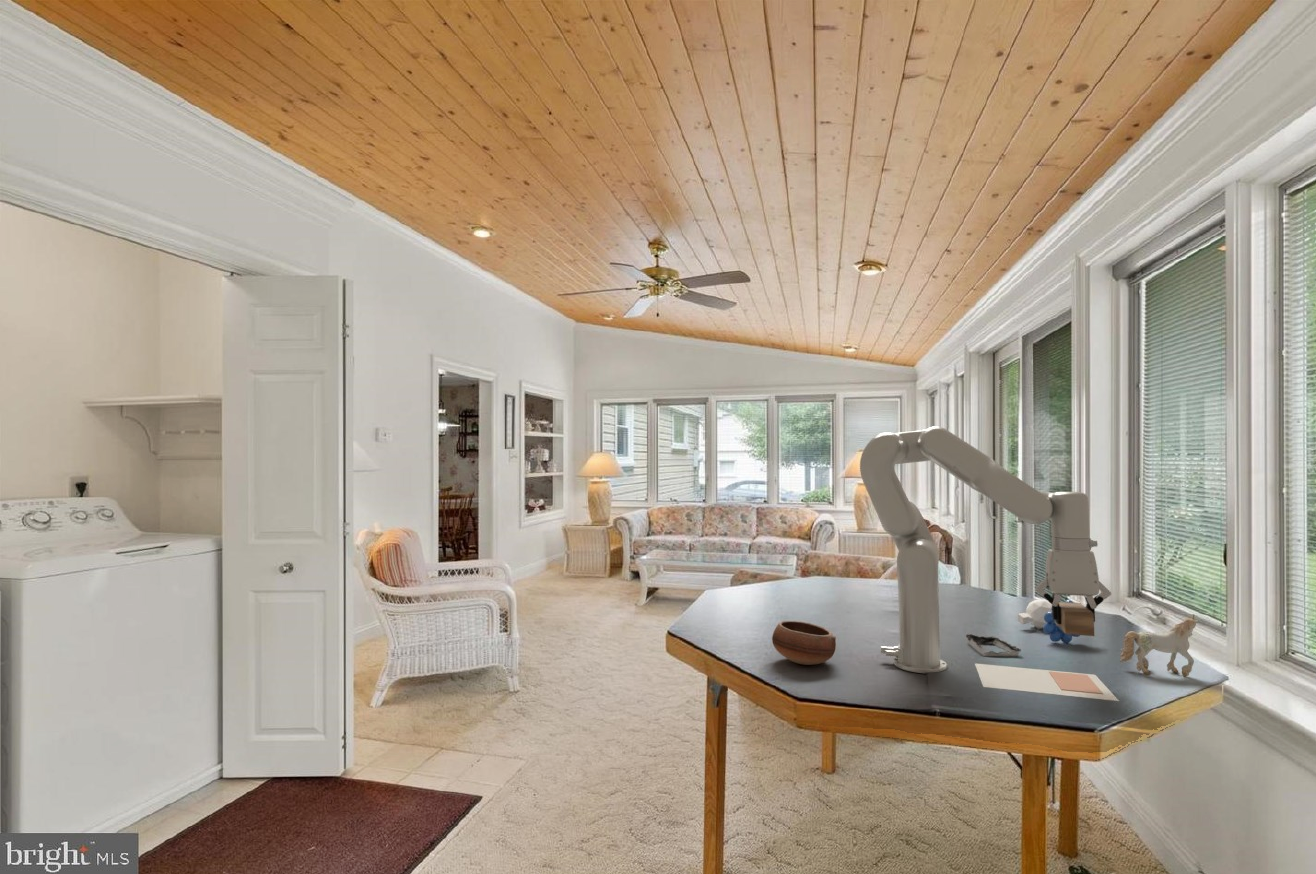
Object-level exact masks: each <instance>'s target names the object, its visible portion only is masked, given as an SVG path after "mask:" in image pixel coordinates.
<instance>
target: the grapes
mask: <svg viewBox="0 0 1316 874" xmlns="http://www.w3.org/2000/svg"><path fill="white" fill-rule="evenodd" d="M1064 602H1069V603H1074V601H1073V600H1066V601H1064ZM1044 620H1045V621H1046V622H1047V624H1045V625H1044V627H1043V629H1042V630H1043V632H1044V633H1045V634H1047V635H1049V639H1050V641H1051V642H1055V643H1057V642H1059V641H1061V642H1062V643H1064V644H1068V643H1071V641H1072V640H1073V638H1078V637H1080V636H1081V635H1071V634H1065V633H1064V632H1063V631H1062V630H1061V629H1060V628H1059V627H1058V625H1057V624H1056V623H1055V619H1053V617H1052V612H1048V613H1046V614H1045V615H1044Z"/></svg>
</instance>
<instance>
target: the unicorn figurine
mask: <svg viewBox="0 0 1316 874" xmlns="http://www.w3.org/2000/svg"><path fill="white" fill-rule="evenodd" d="M1198 623H1199V620H1198V619H1196V620H1195V613H1192V615H1191V617H1188V616H1186V617H1185V619H1184V620H1183V621H1181V622H1180V623H1177V624H1175V626H1174V627H1172V628H1171V629H1169V630H1168V631H1165V632H1163V633H1157V632H1151V631H1141V632H1137V631H1133V630H1131V631H1128V632H1127V633H1126V635H1124V639H1123V648H1120V650H1121V651H1122V652H1121V654H1120V656H1121V657H1120V660H1119V662H1120V663H1123V662H1127V661H1130V660H1131V659H1132V658H1133V656H1134V654H1135V655H1136V656H1137V657H1136V658H1137V663H1136V669H1137V671H1138V672H1142V673H1143V674H1145V675H1150V674H1151V673H1150V671H1149V664H1150V663H1149V660H1148V659H1147V658H1146V656H1147V655H1148V654H1150V652H1151V651H1153V650H1154V651H1157V652H1162V653H1167V654H1169V653H1170V659H1169V660H1170V661H1169V662H1168V663H1167V664H1166V669H1167V672H1170V671H1171V672H1172V673H1174V674H1176V673H1177V674H1178V673H1179V670H1178V668H1177V667H1175V660H1176V658H1177V655H1178V654H1179V655H1181V656H1182V657H1184V658H1185V659H1186V660H1187V661H1188V663H1187V664H1185V665H1183V666H1182V667H1181V675H1182V676H1183V677H1184V678H1186V677H1188V676H1190V673H1191V672H1192V670H1193V666H1194V663H1195V660H1194V658H1193V657H1192V655H1191V654H1190V653H1189V652H1188V650H1189V649H1190V642H1189V638H1190V637H1192V636H1193V635H1194V634H1193V631H1194V629H1195V628H1196V625H1197V624H1198ZM1135 644H1136V645H1137V646H1138V647H1137V649H1136V650H1135Z"/></svg>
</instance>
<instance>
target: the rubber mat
mask: <svg viewBox="0 0 1316 874" xmlns="http://www.w3.org/2000/svg"><path fill="white" fill-rule="evenodd" d="M974 665H975V669H976V670H977V674H978V676H979V679H980V682H981V685H982V687H983V688H989V689H998V690H999V689H1001V690H1009V691H1018V692H1019V691H1020V692H1028V693H1036V694H1037V693H1038V694H1046V695H1058V696H1064V697H1065V696H1067V697H1075V698H1076V697H1077V698H1084V699H1094V700H1104V701H1113V702H1114V701H1115V702H1120V700H1119V699H1118V698H1117V697H1116V695H1114V694H1113V692H1112V691H1110V689H1109V688H1108V687H1107V686H1106V684H1104V682H1103V681H1102V680H1101V679H1100V678H1099V677H1098V676H1097V675H1096V674H1091V673H1080V672H1071V671H1062V670H1061V671H1058V670H1049V669H1048V670H1047V669H1038V668H1028V667H1027V668H1025V667H1014V666H1006V665H997V664H996V665H995V664H986V663H974Z"/></svg>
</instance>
